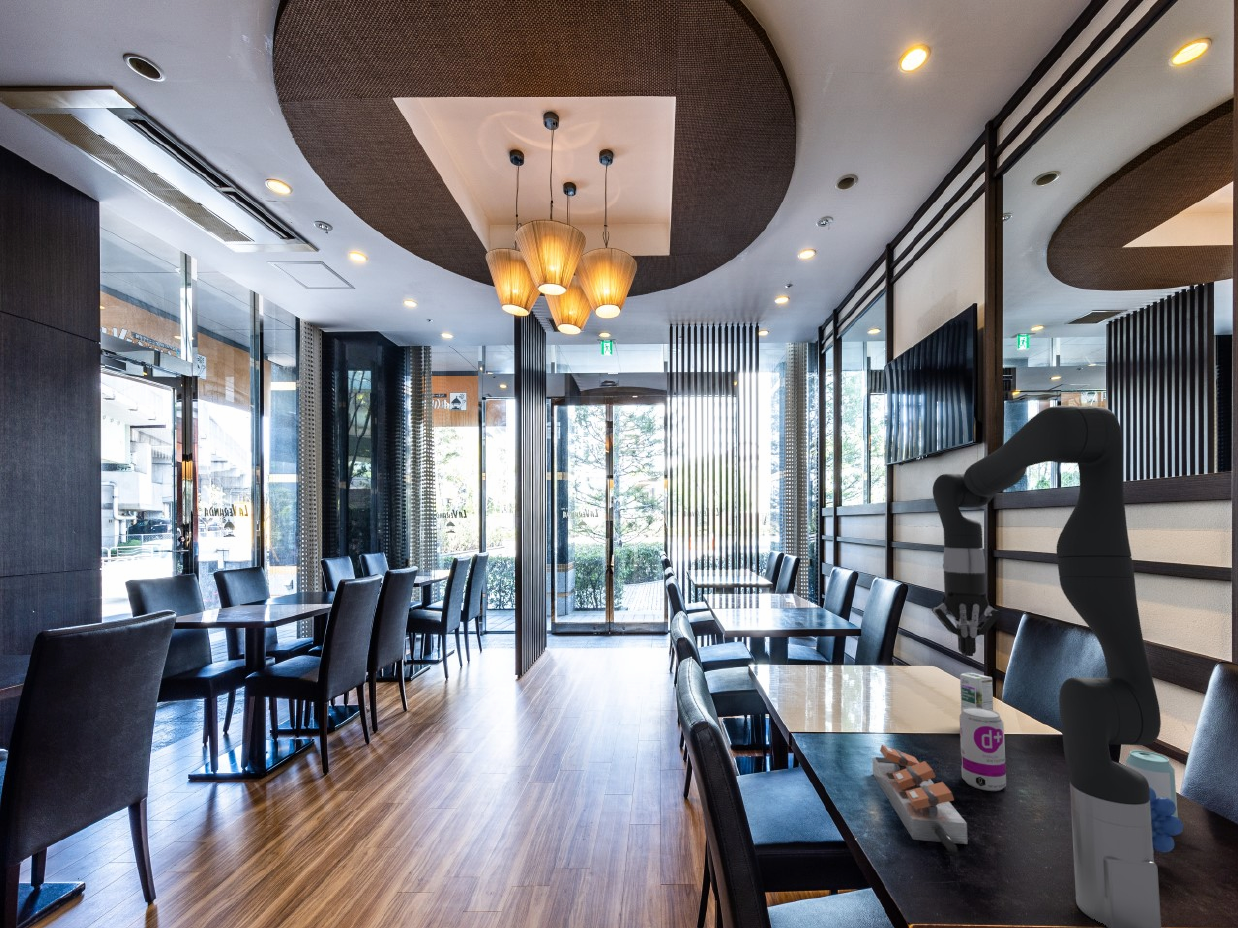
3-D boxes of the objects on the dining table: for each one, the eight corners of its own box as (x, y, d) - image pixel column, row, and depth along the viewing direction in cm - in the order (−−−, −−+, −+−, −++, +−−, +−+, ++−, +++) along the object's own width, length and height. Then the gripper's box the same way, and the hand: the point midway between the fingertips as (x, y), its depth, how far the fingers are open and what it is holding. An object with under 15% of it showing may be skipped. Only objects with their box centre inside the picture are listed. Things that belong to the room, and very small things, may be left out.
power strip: (982, 862, 101) (981, 834, 102) (924, 857, 103) (923, 829, 103) (915, 776, 135) (914, 755, 135) (872, 773, 136) (872, 752, 137)
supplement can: (1013, 793, 127) (1009, 719, 128) (969, 790, 129) (966, 716, 130) (997, 777, 135) (994, 707, 136) (956, 774, 137) (953, 705, 138)
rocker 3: (954, 801, 111) (951, 790, 111) (916, 810, 112) (912, 800, 112) (945, 790, 115) (942, 780, 115) (908, 799, 116) (905, 789, 116)
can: (1120, 815, 118) (1116, 750, 119) (1143, 809, 121) (1139, 746, 122) (1163, 832, 112) (1159, 764, 113) (1187, 826, 114) (1182, 759, 115)
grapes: (1176, 854, 104) (1172, 781, 105) (1191, 875, 98) (1185, 797, 99) (1092, 837, 110) (1088, 768, 111) (1100, 855, 104) (1096, 782, 105)
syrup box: (960, 728, 167) (958, 673, 168) (975, 725, 169) (972, 671, 170) (980, 735, 162) (978, 678, 163) (995, 731, 164) (992, 676, 165)
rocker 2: (936, 777, 120) (931, 768, 120) (902, 790, 120) (898, 781, 121) (928, 768, 124) (924, 759, 124) (896, 781, 125) (891, 772, 125)
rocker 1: (919, 772, 128) (921, 764, 128) (885, 759, 130) (887, 751, 130) (912, 763, 133) (914, 755, 133) (879, 751, 134) (882, 743, 134)
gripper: (936, 570, 124) (939, 658, 123) (1007, 572, 122) (1011, 661, 121) (923, 567, 132) (926, 650, 130) (990, 569, 130) (994, 652, 128)
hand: (967, 655), depth 125 cm, fingers closed
